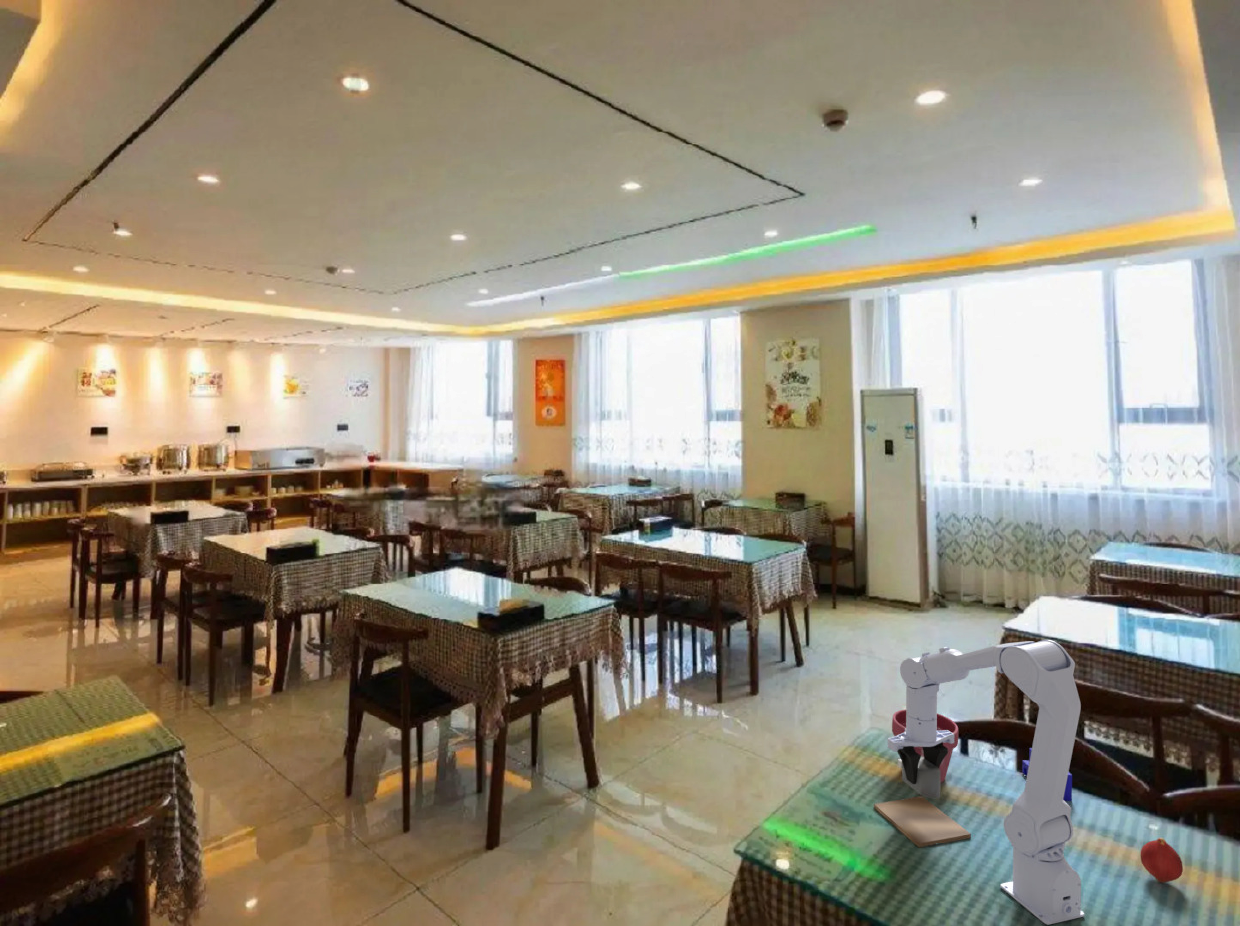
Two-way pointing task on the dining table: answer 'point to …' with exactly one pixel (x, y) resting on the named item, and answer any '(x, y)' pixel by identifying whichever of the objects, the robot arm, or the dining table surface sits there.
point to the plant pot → (942, 724)
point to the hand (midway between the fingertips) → (920, 779)
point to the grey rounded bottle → (924, 779)
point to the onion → (1161, 860)
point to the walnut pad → (921, 821)
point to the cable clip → (1068, 784)
